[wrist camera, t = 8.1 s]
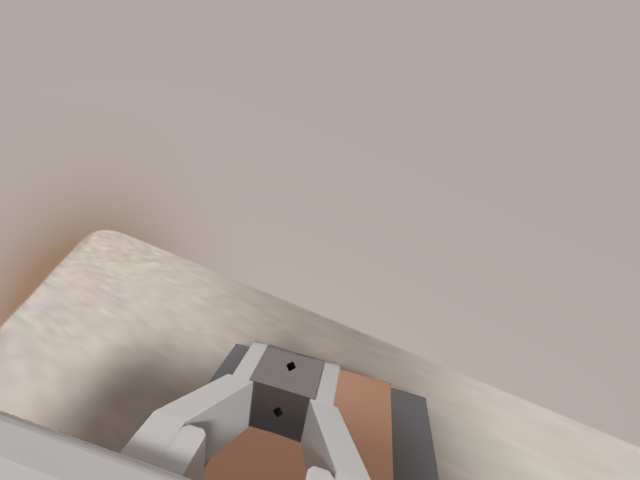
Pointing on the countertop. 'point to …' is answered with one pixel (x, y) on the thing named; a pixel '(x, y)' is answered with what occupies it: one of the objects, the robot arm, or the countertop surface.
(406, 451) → the board
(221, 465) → the tile
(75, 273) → the countertop surface
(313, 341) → the countertop surface
